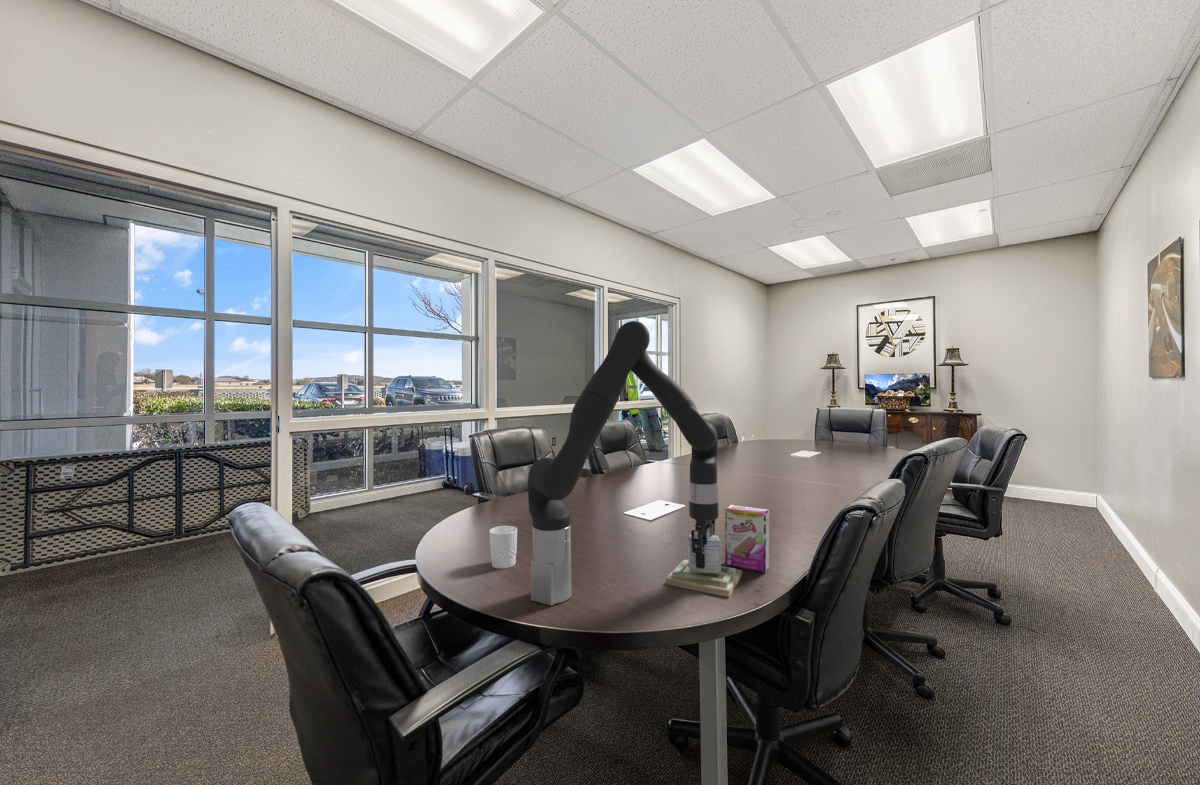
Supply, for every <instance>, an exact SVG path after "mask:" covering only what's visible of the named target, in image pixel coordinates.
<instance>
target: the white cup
mask: <svg viewBox="0 0 1200 785" xmlns="http://www.w3.org/2000/svg"><path fill="white" fill-rule="evenodd" d="M488 533H489V534H488V535H489V548H490V549H489V550H490V557H491V558H490V559H491V566H492V567H493V568H495V569H500V570H501V569H502V570H503V569H509V568H512V567H514V566H515V564H517V559H516V558H517V546H518V527H517V526H512V525H499V526H495V527H492V528H490V529H489V532H488Z"/></svg>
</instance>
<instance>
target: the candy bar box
mask: <svg viewBox="0 0 1200 785" xmlns="http://www.w3.org/2000/svg"><path fill="white" fill-rule="evenodd" d="M724 510H725V515H724V516H725V519H724V520H725V521H724V523H725V527H724V529H725V532H724V533H725V534H724V535H725V536H724V539H725V540H724V541H725V546H724V547H725V549H724V550H725V551H724V558H725V559H724V561H725V562H724V565H725V566H726V567H731V568H736V569H737V568H738V569H741V570H742V569H744V570H749V571H753V572H758V573H764V574H766V572H767V571H768V570H769V568H770V510H769V509H765V508H758V507H751V506H744V505H736V504H729V505H727V507H725V508H724Z"/></svg>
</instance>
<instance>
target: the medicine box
mask: <svg viewBox="0 0 1200 785" xmlns="http://www.w3.org/2000/svg"><path fill="white" fill-rule="evenodd" d="M687 537H688V538H687V540H688V541H687V542H688V544H687V545H688V546H687V547H688V549H687V550H688V552H687V553H688V554H687V556H688V560H689V571H690V572H692V573H721V566H722V565H721V539H720V538H719V535H717V534H715V535H713V536H710V535H709V538H708V545H706V548H705V568H704V569H701V568H697V567H696V553H693V552H692V538H691V534H688V536H687ZM703 541H705V540H703ZM698 548H699V549H700V546H699V545H698Z"/></svg>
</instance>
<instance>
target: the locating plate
mask: <svg viewBox="0 0 1200 785" xmlns="http://www.w3.org/2000/svg"><path fill="white" fill-rule="evenodd" d="M678 564H679V565H677V566H676V567H675V568H674V569H673V571H671V572H670V573H669V574H668V575H667V576H666V577H665V585H668V586H674V587H679V588H684V589H689V590H693V591H697V592H702V593H707V594H711V595H716V596H720V597H725V598H726V597H727V598H730V596H731V595H732V594H733V592H734V589H735V588H736V587H737V585H738V583H739V582H740V580H741V578H742V576H743V573H742V569H737V567H731V566H722V565H721V573H692V572H690V571H689V559H683V560H682V561H681V562H680V563H678Z"/></svg>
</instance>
